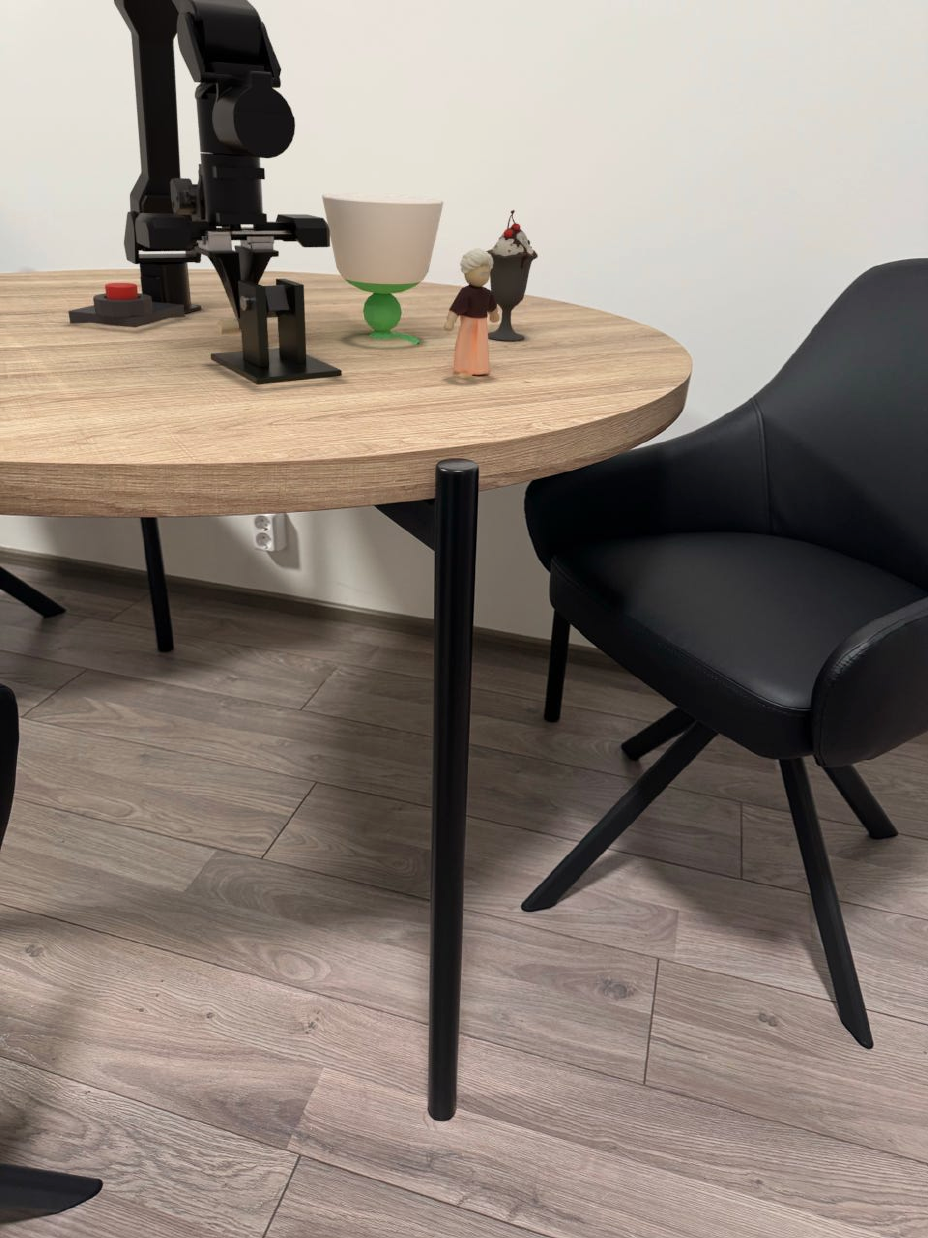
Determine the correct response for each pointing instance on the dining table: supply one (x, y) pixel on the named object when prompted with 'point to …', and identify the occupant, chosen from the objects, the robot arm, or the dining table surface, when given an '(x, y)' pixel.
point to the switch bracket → (256, 355)
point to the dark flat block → (125, 311)
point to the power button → (121, 291)
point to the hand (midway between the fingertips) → (241, 318)
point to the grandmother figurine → (473, 315)
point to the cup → (382, 249)
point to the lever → (274, 307)
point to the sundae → (510, 276)
